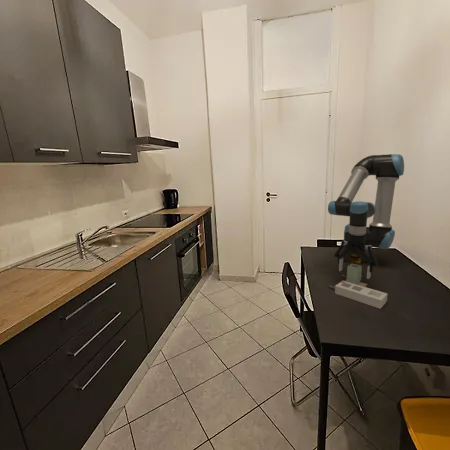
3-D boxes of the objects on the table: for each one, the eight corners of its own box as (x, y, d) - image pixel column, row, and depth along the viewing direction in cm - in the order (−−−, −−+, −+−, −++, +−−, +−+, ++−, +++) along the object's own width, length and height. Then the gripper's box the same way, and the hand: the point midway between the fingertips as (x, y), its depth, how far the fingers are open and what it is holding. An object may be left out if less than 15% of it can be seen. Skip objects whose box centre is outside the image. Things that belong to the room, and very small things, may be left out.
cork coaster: (347, 279, 140) (347, 278, 140) (367, 285, 133) (367, 284, 133) (339, 285, 134) (339, 284, 133) (359, 292, 126) (359, 291, 126)
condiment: (362, 276, 143) (364, 255, 140) (354, 280, 139) (355, 259, 136) (350, 271, 149) (351, 252, 146) (341, 275, 145) (342, 255, 142)
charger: (350, 281, 136) (351, 263, 134) (360, 284, 133) (361, 265, 130) (346, 284, 133) (347, 266, 131) (356, 287, 130) (357, 268, 127)
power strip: (325, 290, 130) (325, 282, 129) (332, 284, 135) (332, 277, 134) (380, 308, 112) (381, 299, 111) (386, 301, 117) (387, 293, 116)
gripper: (328, 231, 133) (326, 269, 138) (383, 240, 115) (378, 284, 120) (335, 228, 138) (333, 265, 143) (388, 236, 120) (384, 278, 125)
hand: (354, 274), depth 132 cm, fingers open, 13 cm apart
